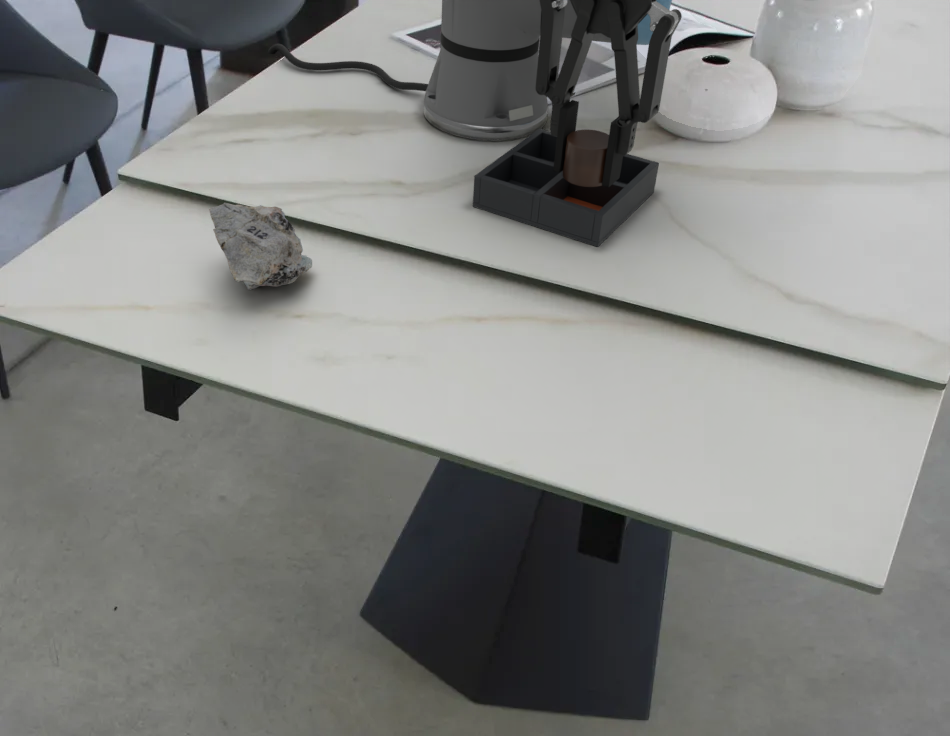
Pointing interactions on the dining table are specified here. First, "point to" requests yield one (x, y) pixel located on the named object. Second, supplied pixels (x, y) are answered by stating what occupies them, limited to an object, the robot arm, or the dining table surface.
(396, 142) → the dining table surface
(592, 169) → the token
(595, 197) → the grid
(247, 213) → the mineral specimen
